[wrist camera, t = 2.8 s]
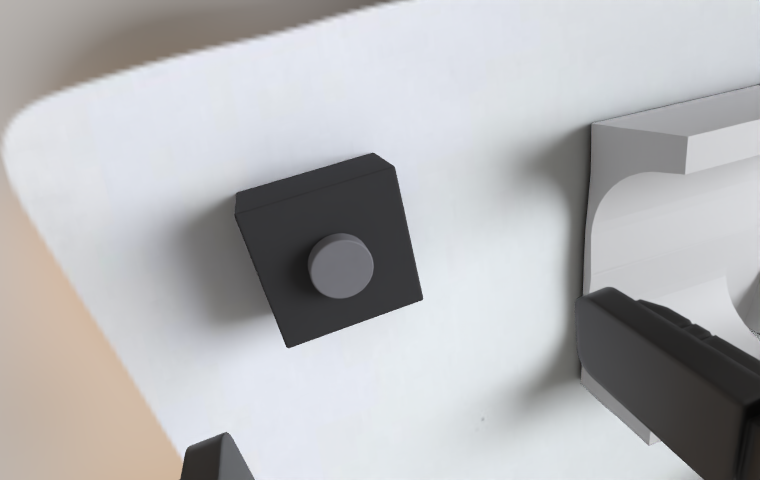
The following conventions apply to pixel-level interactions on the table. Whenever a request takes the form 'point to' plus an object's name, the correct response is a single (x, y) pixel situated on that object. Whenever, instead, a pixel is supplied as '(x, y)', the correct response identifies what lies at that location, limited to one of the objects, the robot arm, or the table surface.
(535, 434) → the table surface
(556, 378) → the table surface
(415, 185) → the table surface
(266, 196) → the dark block with knob
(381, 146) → the table surface
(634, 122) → the white notched trough tray
